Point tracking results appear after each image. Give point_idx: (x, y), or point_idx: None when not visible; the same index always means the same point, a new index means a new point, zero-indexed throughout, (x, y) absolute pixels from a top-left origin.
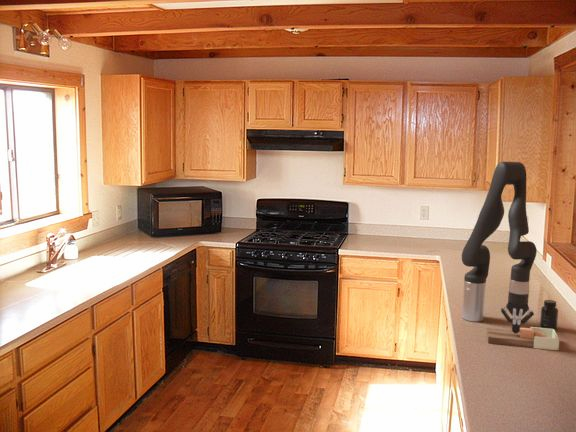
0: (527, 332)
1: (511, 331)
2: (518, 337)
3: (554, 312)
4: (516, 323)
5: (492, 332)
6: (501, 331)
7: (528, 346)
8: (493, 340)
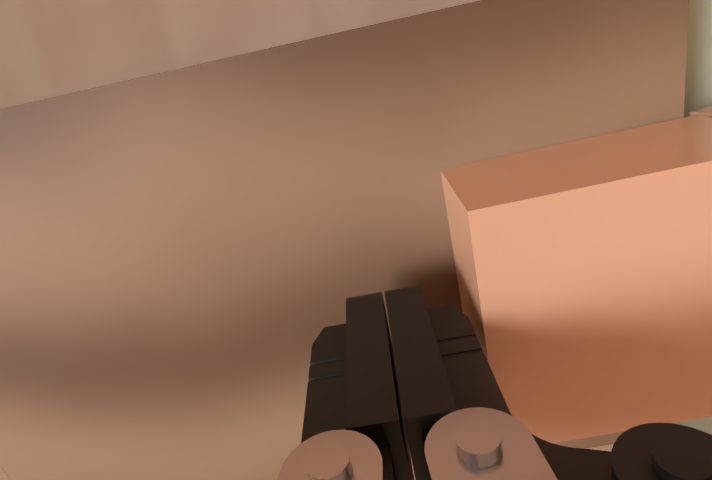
0: (632, 424)
1: (295, 116)
2: None
3: None
4: (420, 442)
5: (8, 340)
6: (121, 214)
7: None
8: None
